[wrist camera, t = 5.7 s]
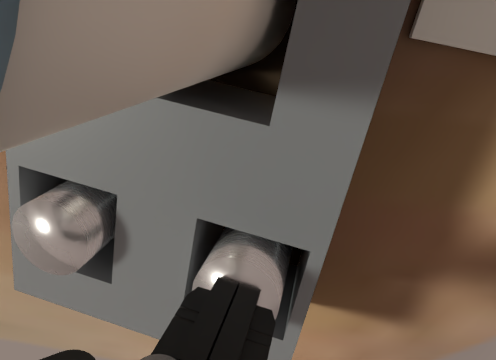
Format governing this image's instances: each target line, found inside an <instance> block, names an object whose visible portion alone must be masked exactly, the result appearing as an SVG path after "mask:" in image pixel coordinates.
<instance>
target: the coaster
mask: <svg viewBox="0 0 496 360" xmlns="http://www.w3.org/2000/svg"><path fill="white" fill-rule="evenodd" d="M409 38H413V39H418V40H423V41H427V42H432V43H437V44H442V45H446V46H451V47H456V48H461V49H465V50H470V51H475V52H480V53H484V54H489V55H494V56H496V0H421V3H420V6H419V9H418V12H417V15H416V17H415V20H414V23H413V26H412V29H411V32H410V35H409Z"/></svg>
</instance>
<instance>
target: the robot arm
mask: <svg viewBox="0 0 496 360" xmlns="http://www.w3.org/2000/svg"><path fill="white" fill-rule="evenodd" d="M238 286H239V287H238ZM260 292H261V290H260V289H257V288H254V287H251V286H248V285H245V284H241V283H240V285H239V283H238V282H235V281H232V280H228V279H225V278H222V277H218V278H217V279H216V281H215V283H214V285H213V287H212V289H211V290H208V289H205V288H201V287H197V288H196V289H194V290H193V291H191V292H190V293H188V294H187V295H186V297H185V298H184V300H183V302H182V303H181V305H180V308H179V309H178V310H177V312H176V314H175V316H174V317H173V319H172V320H171V322H170V324H169V325H168V327H167V329H166V330H165V332H164V334H163V335H162V337H161V339H160V340H159V342H158V344H157V345H156V347H155V349H154V350H153V352H152V353H151V355H149V356H147V357H144V358H142V359H141V360H267V359H268V355H269V350H270V346H271V342H272V337H273V333H274V328H275V324H276V323H275V319H274V315H273V312H272V310H270V309H267V308H264V307H261V306H258V305H257V304H258V300H259V296H260ZM40 360H95V358H94V357H93V356H92V355H91V354H89V353H87V352H85V351H81V350H67V351H63V352H59V353H57V354H54V355H51V356H49V357H46V358H43V359H40Z"/></svg>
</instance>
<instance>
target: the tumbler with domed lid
mask: <svg viewBox="0 0 496 360" xmlns="http://www.w3.org/2000/svg"><path fill="white" fill-rule="evenodd" d="M294 7H295V0H0V152H2V151H5V150H8V149H11V148H14V147H16V146H19V145H22V144H25V143H28V142H31V141H34V140H37V139H39V138H42V137H45V136H48V135H51V134H54V133H57V132H60V131H62V130H65V129H68V128H71V127H74V126H77V125H80V124H82V123H85V122H88V121H91V120H94V119H97V118H100V117H103V116H105V115H108V114H111V113H114V112H117V111H120V110H123V109H125V108H128V107H131V106H134V105H137V104H140V103H143V102H146V101H148V100H151V99H154V98H157V97H160V96H163V95H166V94H168V93H171V92H174V91H177V90H180V89H183V88H186V87H189V86H191V85H194V84H197V83H200V82H203V81H206V80H209V79H211V78H214V77H217V76H220V75H223V74H226V73H229V72H232V71H234V70H237V69H240V68H243V67H246V66H249V65H251V64H254V63H256V62H258V61H260V60H262V59H263V58H265V57H266V56H267V55H269V54H270V53H271V52H272V51H273V50H274V49H275V48H276V47H277V46H278V45H279V43H280V42H281V41H282V39H283V38H284V36H285V34H286V32H287V31H288V28H289V26H290V23H291V20H292V17H293V14H294Z"/></svg>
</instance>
